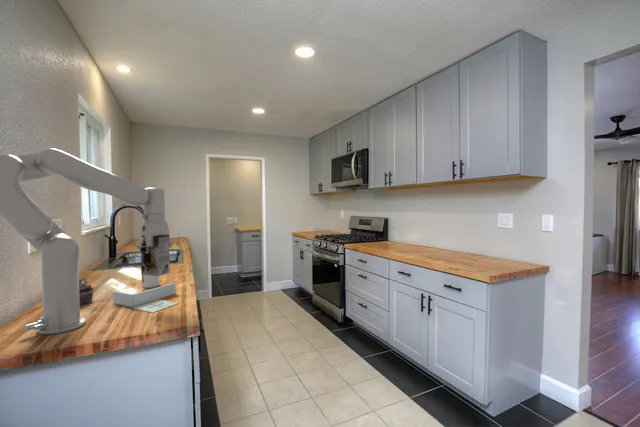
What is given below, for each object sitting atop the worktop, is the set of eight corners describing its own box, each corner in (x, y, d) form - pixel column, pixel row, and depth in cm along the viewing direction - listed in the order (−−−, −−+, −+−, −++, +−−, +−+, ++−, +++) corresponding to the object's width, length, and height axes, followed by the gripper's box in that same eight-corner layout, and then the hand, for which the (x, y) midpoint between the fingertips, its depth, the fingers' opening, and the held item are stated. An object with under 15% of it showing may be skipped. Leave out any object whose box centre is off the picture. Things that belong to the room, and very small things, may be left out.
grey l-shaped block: (132, 307, 125) (132, 295, 125) (113, 303, 130) (113, 291, 130) (175, 293, 144) (175, 282, 144) (157, 290, 149) (157, 280, 149)
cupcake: (65, 307, 124) (65, 283, 124) (65, 301, 132) (65, 278, 131) (95, 303, 130) (94, 279, 130) (93, 297, 138) (93, 275, 137)
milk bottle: (162, 284, 160) (161, 246, 159) (153, 288, 152) (152, 248, 152) (148, 284, 161) (148, 246, 160) (138, 288, 153) (137, 248, 152)
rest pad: (152, 313, 118) (152, 311, 118) (132, 308, 123) (132, 307, 123) (178, 303, 129) (178, 302, 129) (158, 300, 134) (158, 299, 134)
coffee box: (140, 274, 124) (139, 235, 123) (153, 271, 130) (152, 233, 130) (158, 276, 121) (157, 235, 121) (170, 272, 127) (170, 234, 127)
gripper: (140, 219, 115) (141, 266, 116) (178, 217, 131) (179, 258, 132) (127, 219, 118) (128, 264, 119) (166, 217, 134) (167, 257, 135)
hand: (155, 261), depth 125 cm, fingers closed on coffee box, 6 cm apart
